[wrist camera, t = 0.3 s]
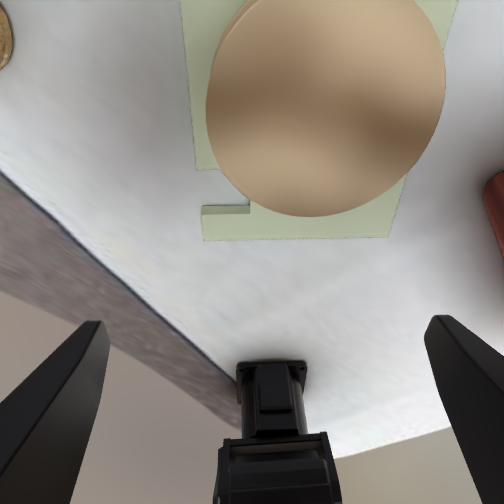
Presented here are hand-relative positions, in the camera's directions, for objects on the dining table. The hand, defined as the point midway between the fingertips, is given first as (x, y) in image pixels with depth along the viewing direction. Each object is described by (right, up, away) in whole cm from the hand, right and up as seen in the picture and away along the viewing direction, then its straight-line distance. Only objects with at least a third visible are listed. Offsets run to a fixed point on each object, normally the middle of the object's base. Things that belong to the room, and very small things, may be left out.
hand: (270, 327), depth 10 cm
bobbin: (+2, +10, +8) cm, 13 cm away
